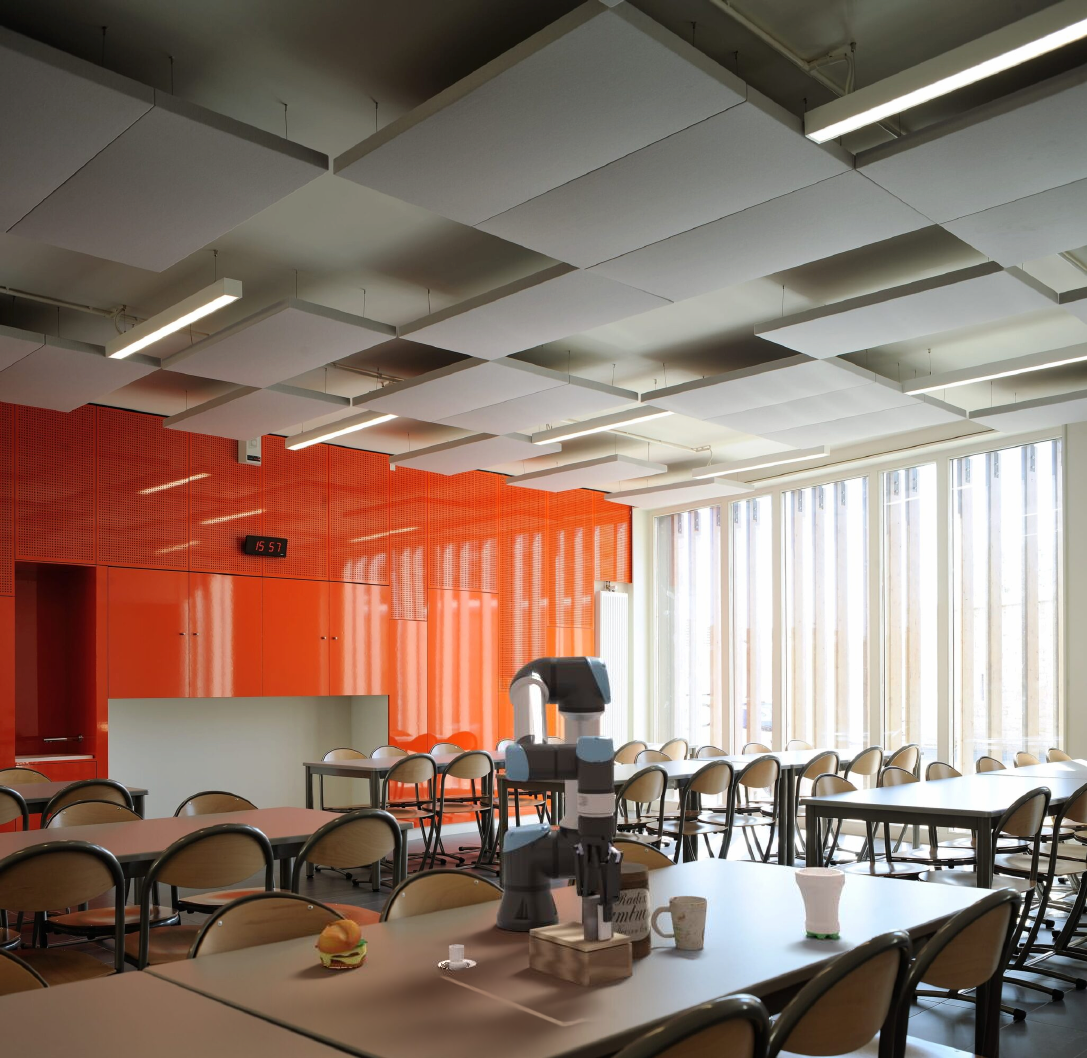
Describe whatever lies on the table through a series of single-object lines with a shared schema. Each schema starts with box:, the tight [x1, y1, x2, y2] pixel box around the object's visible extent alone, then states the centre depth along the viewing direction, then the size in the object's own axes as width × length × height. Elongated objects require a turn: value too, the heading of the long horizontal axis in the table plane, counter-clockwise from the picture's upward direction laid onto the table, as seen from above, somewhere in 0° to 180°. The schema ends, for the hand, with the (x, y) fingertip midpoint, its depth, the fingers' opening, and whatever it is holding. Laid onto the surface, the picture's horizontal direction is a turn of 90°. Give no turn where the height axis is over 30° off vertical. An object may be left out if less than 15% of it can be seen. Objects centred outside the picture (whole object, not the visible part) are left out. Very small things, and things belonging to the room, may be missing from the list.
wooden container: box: [581, 847, 652, 960], centre depth 221 cm, size 15×15×22 cm
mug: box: [650, 895, 708, 951], centre depth 226 cm, size 8×13×10 cm, turn 78°
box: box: [528, 935, 634, 987], centre depth 204 cm, size 18×12×6 cm, turn 38°
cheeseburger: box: [314, 919, 368, 968], centre depth 213 cm, size 10×11×10 cm
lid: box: [529, 895, 631, 952], centre depth 206 cm, size 18×12×9 cm, turn 38°
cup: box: [794, 866, 846, 940], centre depth 234 cm, size 11×11×14 cm
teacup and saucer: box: [437, 943, 477, 971], centre depth 212 cm, size 9×8×4 cm
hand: (598, 937), depth 200 cm, fingers closed on lid, 3 cm apart
